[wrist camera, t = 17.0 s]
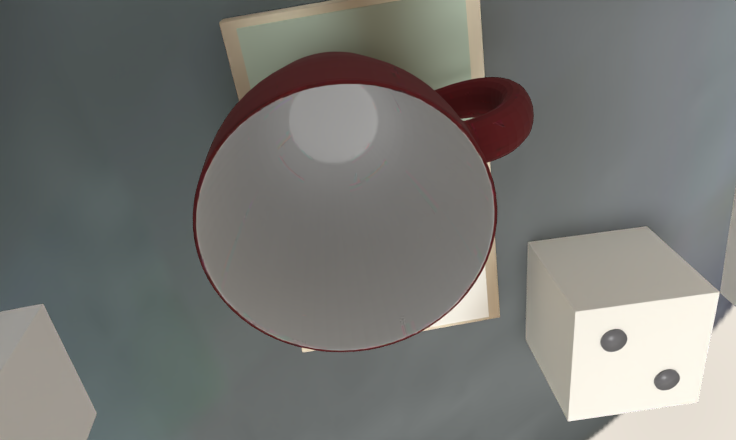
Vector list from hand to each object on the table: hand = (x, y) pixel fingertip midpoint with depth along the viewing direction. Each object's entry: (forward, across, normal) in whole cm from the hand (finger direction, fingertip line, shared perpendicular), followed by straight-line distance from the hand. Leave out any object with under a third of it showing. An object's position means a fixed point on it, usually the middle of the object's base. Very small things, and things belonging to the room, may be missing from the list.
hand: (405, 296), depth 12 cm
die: (+15, +10, -12) cm, 22 cm away
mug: (+15, 0, 0) cm, 15 cm away
